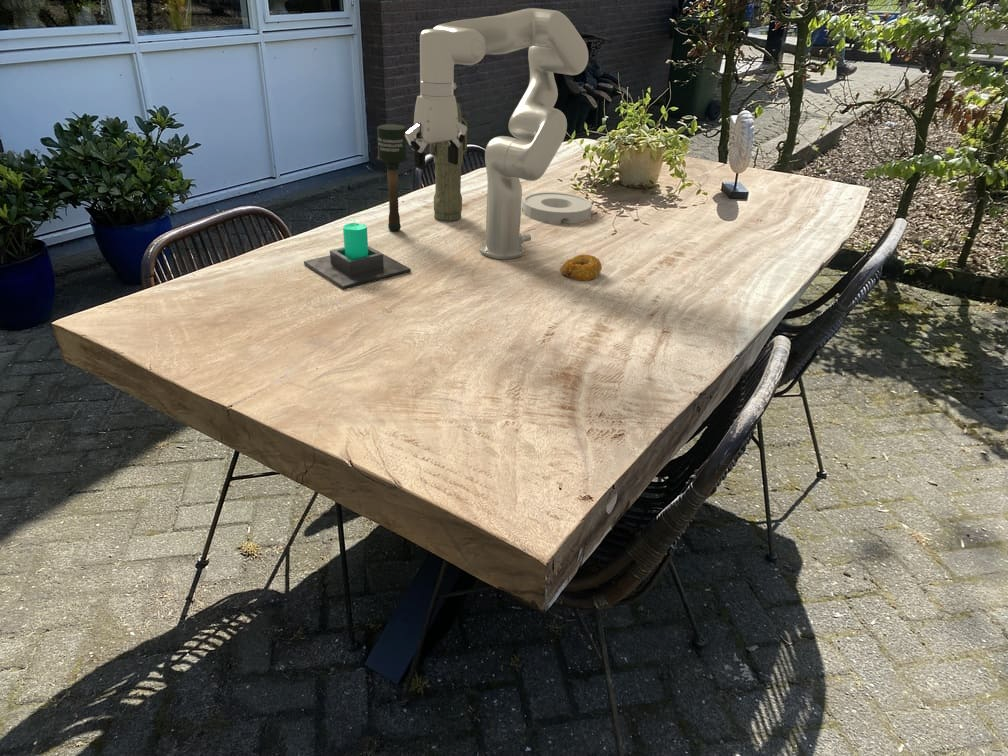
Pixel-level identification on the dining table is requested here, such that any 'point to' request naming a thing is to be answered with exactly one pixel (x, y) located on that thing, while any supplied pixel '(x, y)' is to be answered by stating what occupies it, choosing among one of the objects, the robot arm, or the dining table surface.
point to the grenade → (392, 165)
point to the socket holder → (356, 268)
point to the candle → (355, 240)
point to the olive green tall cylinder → (448, 179)
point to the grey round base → (556, 207)
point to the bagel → (582, 267)
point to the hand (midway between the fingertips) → (436, 166)
